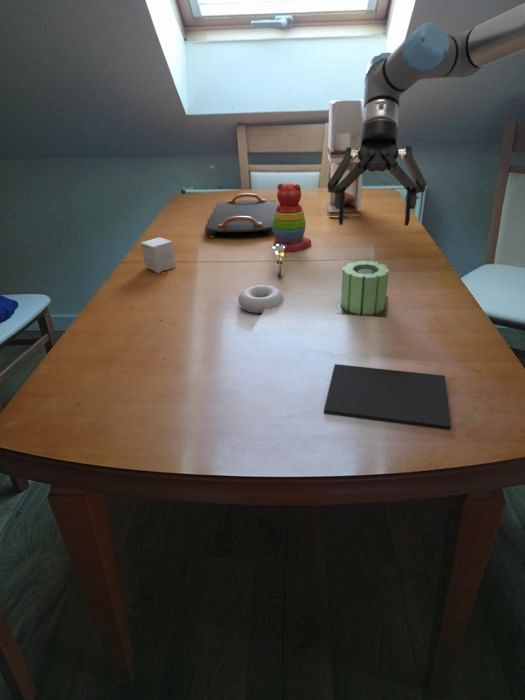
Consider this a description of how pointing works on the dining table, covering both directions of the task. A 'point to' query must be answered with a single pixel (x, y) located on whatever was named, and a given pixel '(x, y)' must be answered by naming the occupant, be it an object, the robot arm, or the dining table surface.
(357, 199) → the spiral ramp tower
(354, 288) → the sage ring
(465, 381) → the dining table surface
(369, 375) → the rubber mat
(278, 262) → the ring
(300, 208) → the stacking bear
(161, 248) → the product box
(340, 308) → the stacking stand
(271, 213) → the serving tray
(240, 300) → the donut
